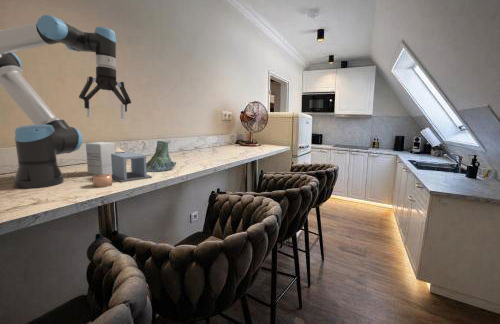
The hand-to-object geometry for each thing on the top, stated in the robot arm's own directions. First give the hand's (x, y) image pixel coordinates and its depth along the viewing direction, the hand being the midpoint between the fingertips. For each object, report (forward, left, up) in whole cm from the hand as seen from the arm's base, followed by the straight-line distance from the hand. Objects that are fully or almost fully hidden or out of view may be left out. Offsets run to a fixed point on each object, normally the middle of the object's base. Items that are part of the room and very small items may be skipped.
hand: (107, 118), depth 109 cm
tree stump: (-7, +28, -28) cm, 40 cm away
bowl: (+11, -7, -27) cm, 30 cm away
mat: (+3, +7, -27) cm, 28 cm away
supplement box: (-14, +1, -27) cm, 31 cm away
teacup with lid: (-25, +13, -27) cm, 39 cm away
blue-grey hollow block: (+3, +7, -27) cm, 28 cm away
